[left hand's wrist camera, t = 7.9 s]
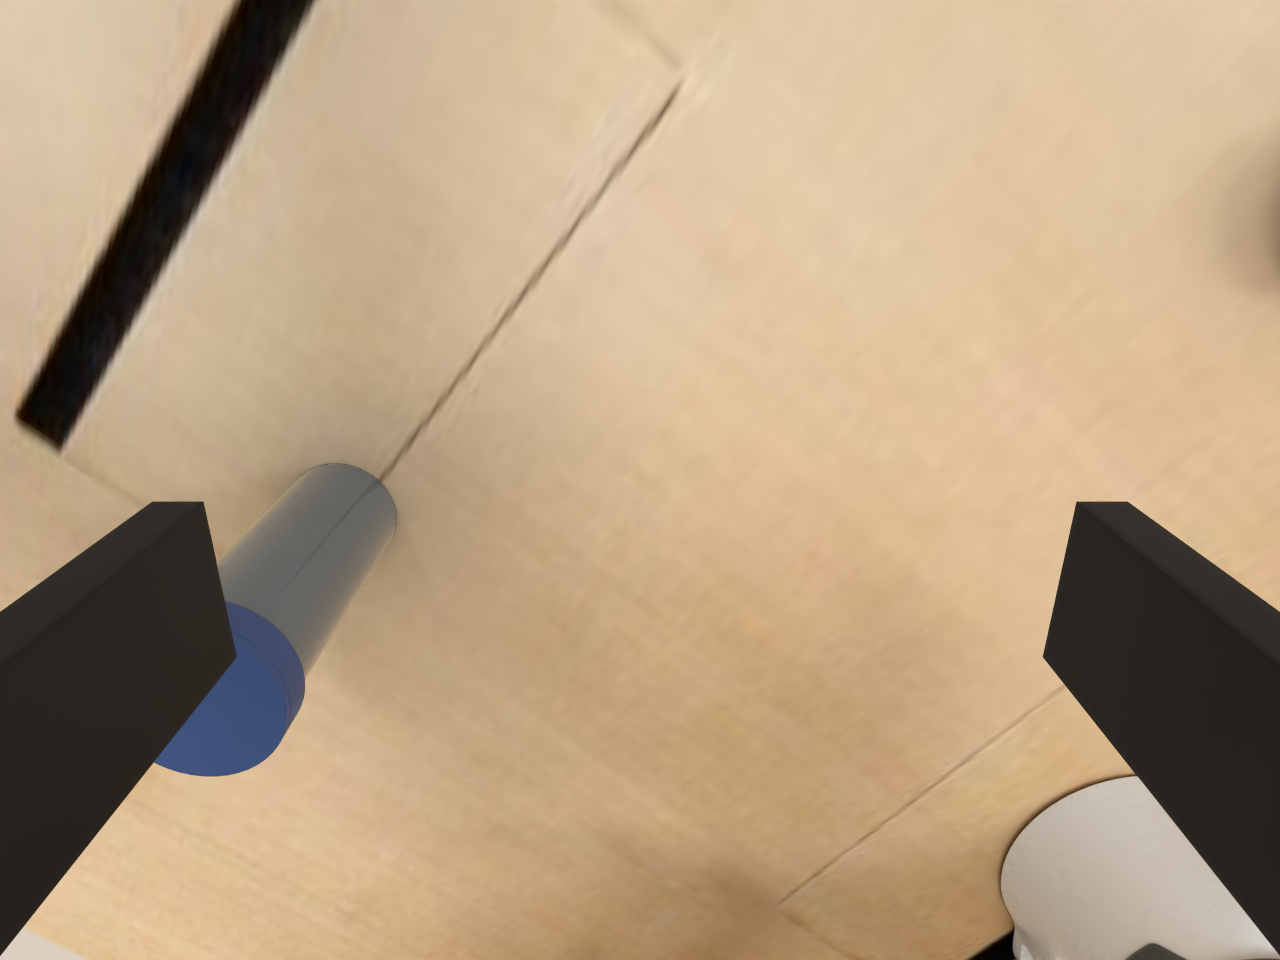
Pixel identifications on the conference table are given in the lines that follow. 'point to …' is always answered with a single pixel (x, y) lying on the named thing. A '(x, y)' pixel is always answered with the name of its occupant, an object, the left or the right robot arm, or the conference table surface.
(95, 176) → the conference table surface
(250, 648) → the lid
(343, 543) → the jar
